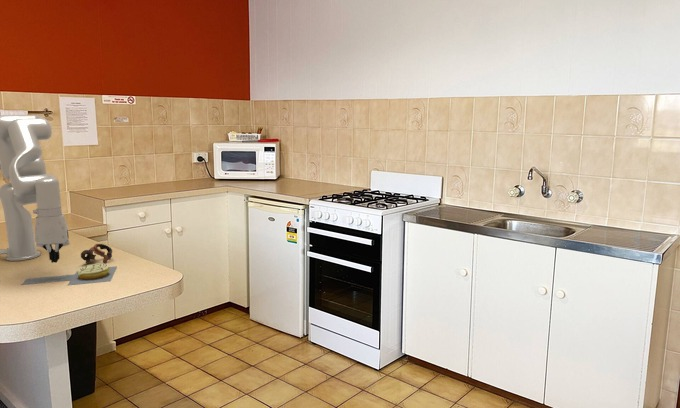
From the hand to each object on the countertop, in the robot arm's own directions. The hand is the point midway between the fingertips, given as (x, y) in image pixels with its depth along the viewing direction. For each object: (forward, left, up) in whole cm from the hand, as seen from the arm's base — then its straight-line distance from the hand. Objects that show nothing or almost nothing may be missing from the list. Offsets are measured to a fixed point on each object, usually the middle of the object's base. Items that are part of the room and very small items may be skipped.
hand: (54, 261), depth 192 cm
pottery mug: (+11, +18, -7) cm, 22 cm away
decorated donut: (+13, -2, -6) cm, 15 cm away
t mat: (+5, -1, -6) cm, 8 cm away
